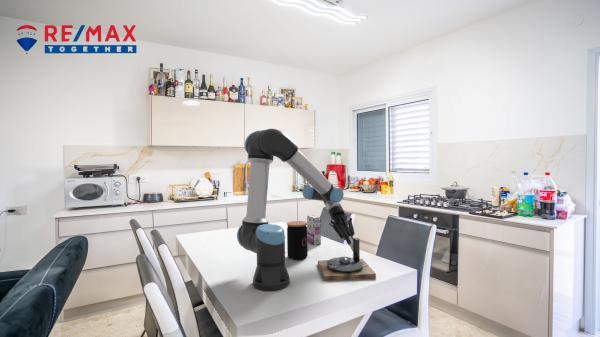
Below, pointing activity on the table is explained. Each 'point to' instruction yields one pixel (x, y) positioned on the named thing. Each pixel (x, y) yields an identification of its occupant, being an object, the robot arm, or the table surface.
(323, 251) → the table surface
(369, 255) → the table surface
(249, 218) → the robot arm
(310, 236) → the candy bar box
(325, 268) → the walnut base
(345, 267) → the capstan turntable
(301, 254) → the coffee jar
